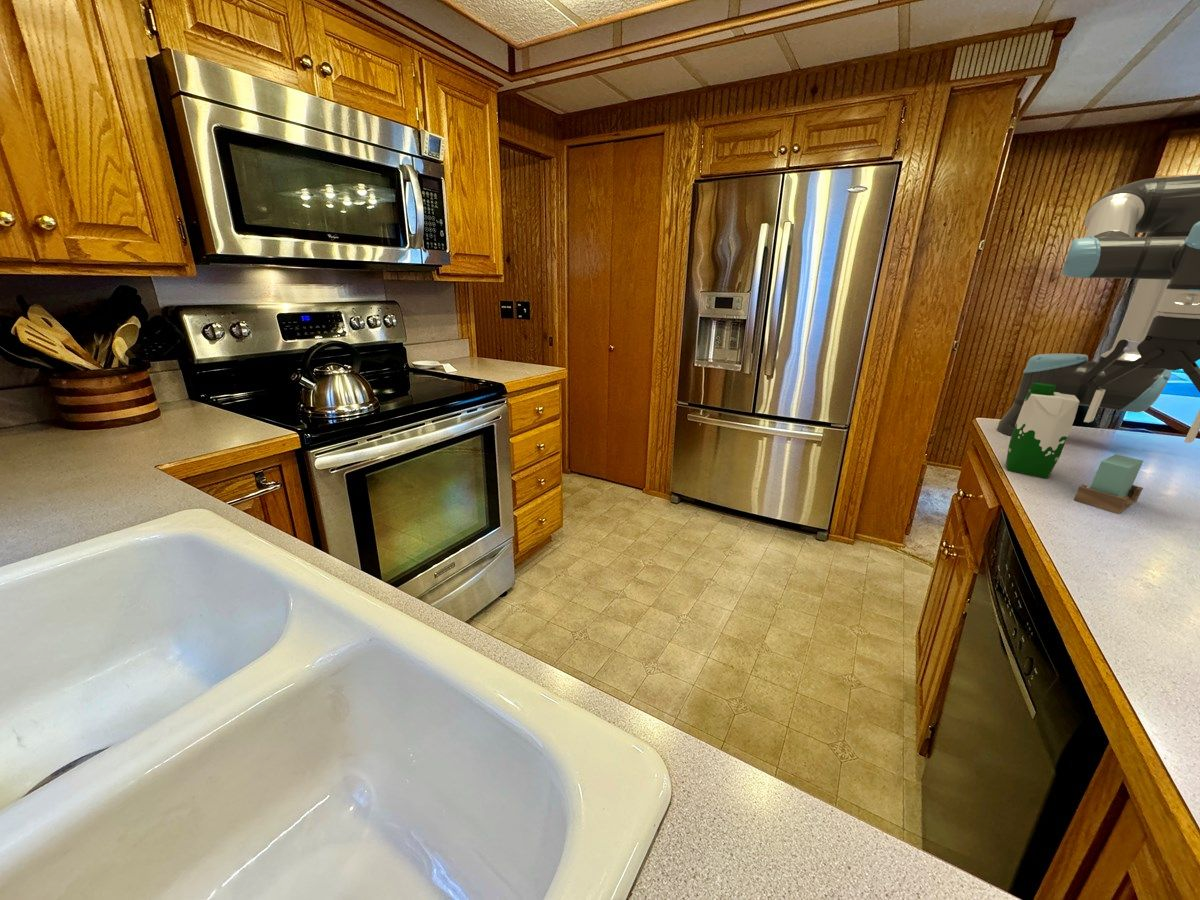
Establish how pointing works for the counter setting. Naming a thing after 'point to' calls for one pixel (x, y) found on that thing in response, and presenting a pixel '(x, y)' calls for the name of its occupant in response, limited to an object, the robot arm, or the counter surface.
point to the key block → (1116, 475)
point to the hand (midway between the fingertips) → (1135, 430)
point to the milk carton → (1041, 430)
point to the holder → (1107, 498)
